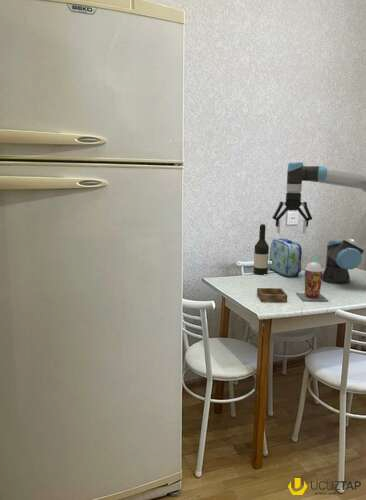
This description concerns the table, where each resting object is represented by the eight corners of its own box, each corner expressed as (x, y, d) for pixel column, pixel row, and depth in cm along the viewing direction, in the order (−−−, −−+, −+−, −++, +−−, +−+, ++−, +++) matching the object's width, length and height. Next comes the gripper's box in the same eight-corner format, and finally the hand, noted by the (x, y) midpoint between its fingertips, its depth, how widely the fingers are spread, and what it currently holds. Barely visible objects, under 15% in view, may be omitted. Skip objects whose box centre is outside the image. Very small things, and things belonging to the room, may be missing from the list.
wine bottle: (267, 275, 240) (270, 225, 234) (253, 274, 241) (255, 224, 236) (267, 272, 248) (269, 223, 242) (253, 271, 249) (255, 223, 244)
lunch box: (302, 278, 235) (305, 242, 231) (285, 278, 233) (288, 243, 229) (283, 268, 260) (284, 236, 256) (267, 268, 258) (269, 236, 254)
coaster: (320, 294, 202) (320, 293, 202) (328, 301, 190) (328, 300, 190) (296, 294, 202) (296, 292, 202) (302, 301, 190) (303, 300, 190)
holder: (281, 295, 200) (281, 288, 199) (287, 302, 188) (287, 295, 188) (256, 294, 200) (257, 287, 200) (261, 302, 188) (261, 294, 188)
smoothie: (300, 294, 200) (303, 254, 196) (316, 294, 200) (319, 254, 197) (306, 299, 192) (309, 258, 188) (323, 299, 192) (327, 258, 189)
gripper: (315, 192, 212) (312, 232, 216) (268, 191, 213) (266, 231, 216) (320, 193, 205) (317, 234, 209) (271, 192, 205) (269, 233, 209)
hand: (291, 233), depth 213 cm, fingers open, 13 cm apart
